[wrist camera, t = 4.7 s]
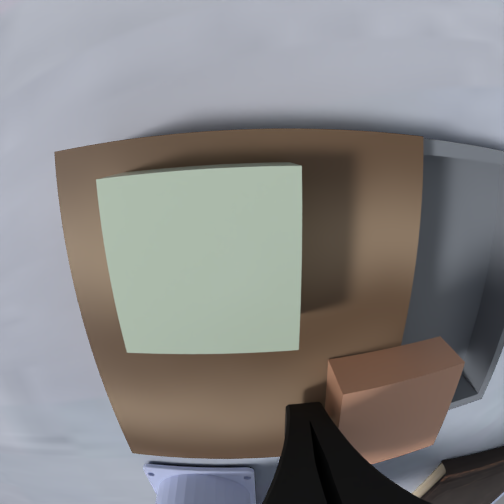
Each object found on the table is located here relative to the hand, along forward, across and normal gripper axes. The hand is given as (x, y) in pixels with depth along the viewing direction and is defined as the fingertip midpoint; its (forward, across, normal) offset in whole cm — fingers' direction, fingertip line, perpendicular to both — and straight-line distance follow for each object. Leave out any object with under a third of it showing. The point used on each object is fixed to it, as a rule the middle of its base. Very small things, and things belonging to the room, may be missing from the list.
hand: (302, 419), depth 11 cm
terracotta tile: (+1, -4, 0) cm, 4 cm away
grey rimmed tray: (+5, -8, -3) cm, 10 cm away
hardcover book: (+6, -24, +26) cm, 36 cm away
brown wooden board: (+5, +2, -4) cm, 6 cm away
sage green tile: (+1, +3, -7) cm, 8 cm away
